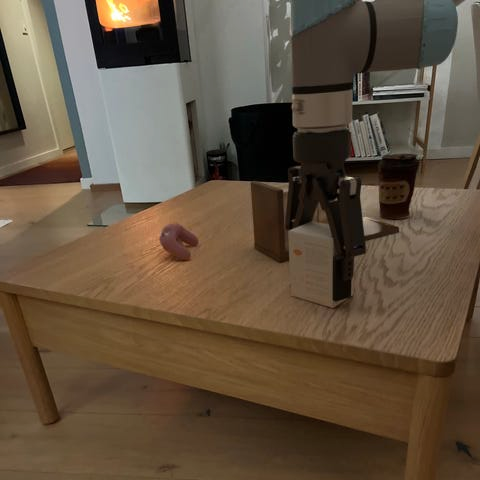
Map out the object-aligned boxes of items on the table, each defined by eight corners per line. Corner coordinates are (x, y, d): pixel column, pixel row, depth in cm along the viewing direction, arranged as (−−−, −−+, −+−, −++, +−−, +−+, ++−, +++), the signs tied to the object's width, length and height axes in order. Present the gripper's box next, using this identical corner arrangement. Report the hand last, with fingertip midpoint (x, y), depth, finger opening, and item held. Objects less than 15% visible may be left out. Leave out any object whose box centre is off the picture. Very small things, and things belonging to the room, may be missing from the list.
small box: (354, 296, 72) (357, 228, 67) (332, 309, 68) (333, 239, 63) (311, 283, 77) (311, 220, 72) (289, 295, 73) (287, 229, 69)
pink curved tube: (183, 251, 100) (164, 223, 98) (201, 241, 99) (182, 212, 96) (172, 269, 92) (151, 238, 89) (192, 258, 90) (171, 227, 88)
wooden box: (399, 231, 96) (404, 165, 90) (279, 262, 86) (276, 190, 80) (366, 221, 104) (369, 159, 98) (254, 248, 94) (249, 181, 88)
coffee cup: (409, 223, 101) (415, 159, 95) (370, 220, 105) (373, 159, 99) (418, 212, 107) (424, 151, 101) (381, 209, 111) (384, 151, 105)
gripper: (256, 127, 69) (265, 271, 79) (351, 138, 51) (346, 321, 62) (300, 121, 72) (303, 261, 82) (405, 129, 54) (391, 307, 64)
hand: (321, 287), depth 72 cm, fingers closed on small box, 9 cm apart
